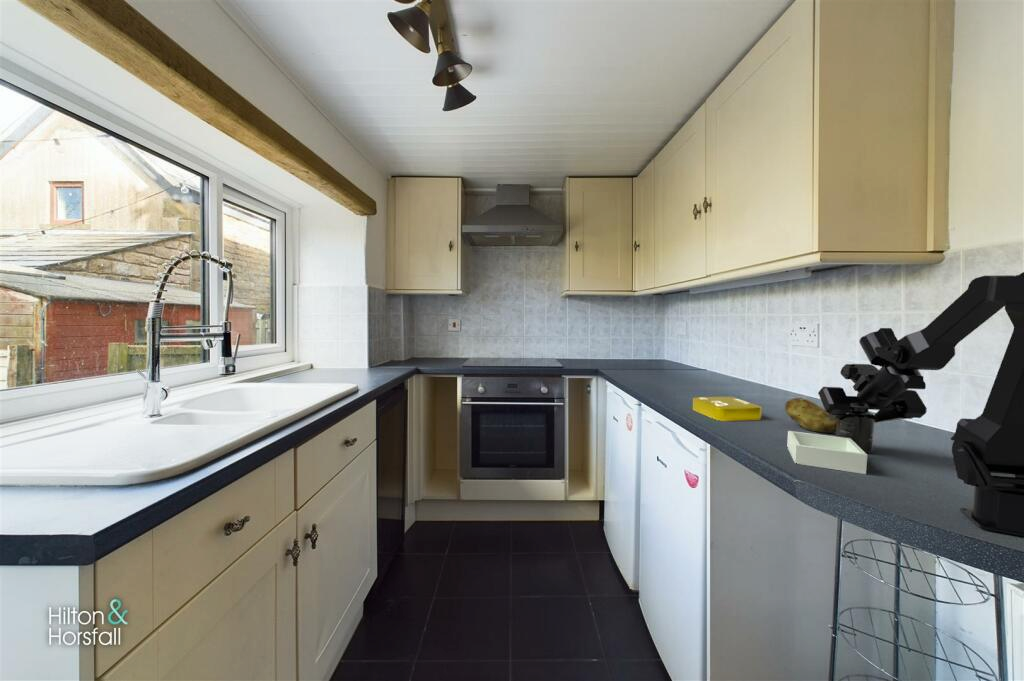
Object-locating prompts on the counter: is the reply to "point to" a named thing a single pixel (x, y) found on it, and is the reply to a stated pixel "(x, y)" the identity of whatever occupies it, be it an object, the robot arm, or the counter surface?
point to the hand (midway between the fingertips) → (851, 419)
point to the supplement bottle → (857, 427)
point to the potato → (810, 415)
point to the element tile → (727, 408)
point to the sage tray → (826, 452)
